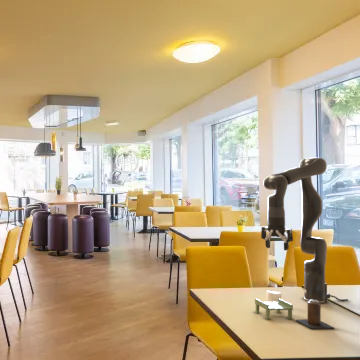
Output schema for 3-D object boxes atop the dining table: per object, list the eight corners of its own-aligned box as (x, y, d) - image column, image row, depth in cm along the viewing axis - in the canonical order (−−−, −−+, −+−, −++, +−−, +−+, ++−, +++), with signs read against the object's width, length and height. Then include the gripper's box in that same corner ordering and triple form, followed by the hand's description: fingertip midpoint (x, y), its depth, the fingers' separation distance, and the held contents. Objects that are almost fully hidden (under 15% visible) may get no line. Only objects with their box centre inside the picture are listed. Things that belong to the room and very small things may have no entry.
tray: (279, 311, 185) (279, 298, 185) (292, 319, 175) (292, 304, 176) (254, 312, 185) (254, 298, 185) (267, 319, 175) (267, 305, 175)
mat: (317, 320, 174) (317, 319, 174) (334, 329, 164) (334, 327, 164) (295, 320, 173) (295, 319, 173) (311, 329, 163) (311, 327, 163)
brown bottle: (315, 321, 171) (315, 298, 171) (323, 325, 166) (323, 302, 167) (304, 321, 171) (304, 298, 171) (312, 325, 166) (312, 302, 166)
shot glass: (283, 308, 191) (283, 294, 191) (268, 307, 192) (268, 293, 192) (279, 304, 197) (279, 290, 197) (264, 303, 199) (264, 289, 199)
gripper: (295, 216, 187) (296, 250, 187) (266, 214, 199) (266, 246, 199) (286, 217, 183) (287, 251, 183) (257, 215, 195) (258, 247, 195)
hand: (276, 249), depth 191 cm, fingers open, 8 cm apart
